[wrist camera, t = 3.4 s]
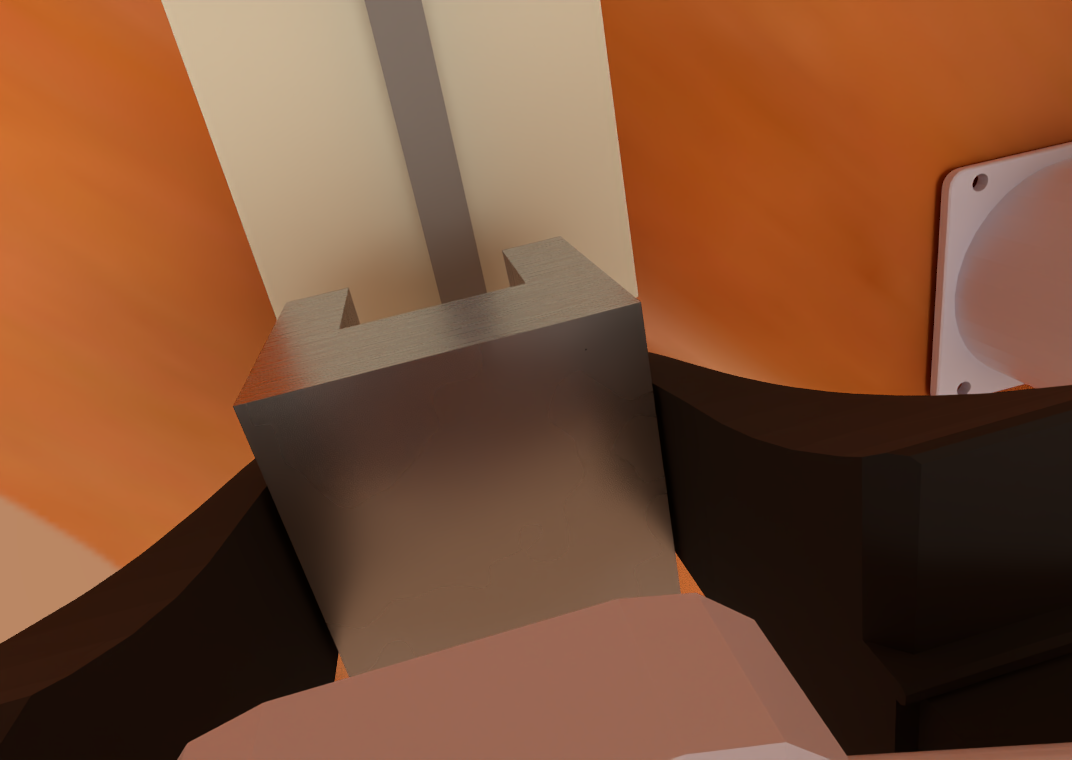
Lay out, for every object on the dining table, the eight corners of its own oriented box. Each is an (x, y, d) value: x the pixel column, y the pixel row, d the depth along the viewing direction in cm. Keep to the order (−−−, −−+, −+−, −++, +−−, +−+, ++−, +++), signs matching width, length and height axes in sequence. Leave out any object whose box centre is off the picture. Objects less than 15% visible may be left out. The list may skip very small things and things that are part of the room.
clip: (560, 236, 12) (641, 302, 8) (609, 504, 15) (688, 654, 11) (286, 302, 12) (232, 406, 8) (384, 568, 14) (380, 750, 10)
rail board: (534, -444, 14) (575, -613, 11) (632, 291, 20) (676, 327, 17) (32, -380, 13) (-91, -540, 10) (300, 370, 20) (280, 424, 16)
